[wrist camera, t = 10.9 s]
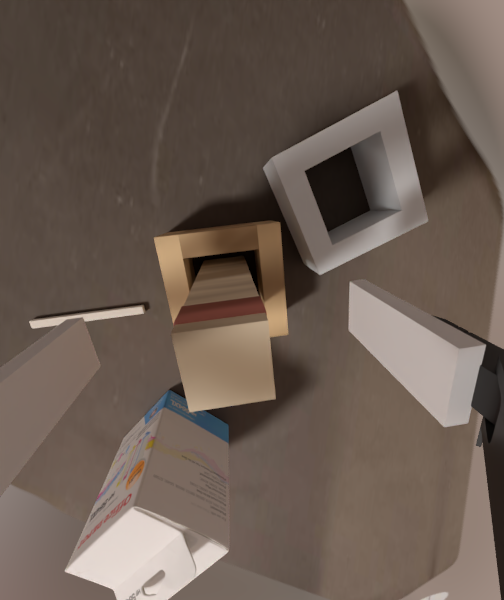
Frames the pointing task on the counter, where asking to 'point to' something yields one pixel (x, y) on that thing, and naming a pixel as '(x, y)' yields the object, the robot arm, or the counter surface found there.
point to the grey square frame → (374, 176)
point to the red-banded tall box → (224, 338)
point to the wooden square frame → (219, 240)
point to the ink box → (160, 506)
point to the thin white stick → (88, 316)
